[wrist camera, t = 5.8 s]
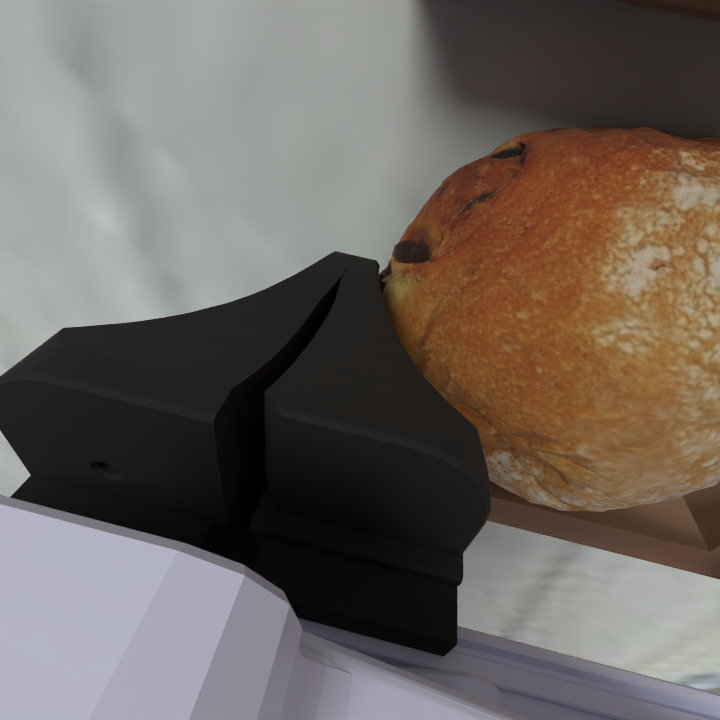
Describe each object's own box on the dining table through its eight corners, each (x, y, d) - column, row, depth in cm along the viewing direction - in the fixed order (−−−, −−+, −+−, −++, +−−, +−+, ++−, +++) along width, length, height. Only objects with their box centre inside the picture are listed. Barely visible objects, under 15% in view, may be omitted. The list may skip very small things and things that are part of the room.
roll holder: (685, 506, 17) (721, 579, 15) (332, 418, 18) (313, 476, 15) (1343, 17, 7) (1803, 11, 4) (429, -157, 7) (417, -241, 5)
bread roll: (537, 368, 18) (668, 547, 13) (320, 360, 14) (381, 609, 9) (730, 137, 12) (1143, 306, 7) (433, 12, 8) (856, 175, 3)
